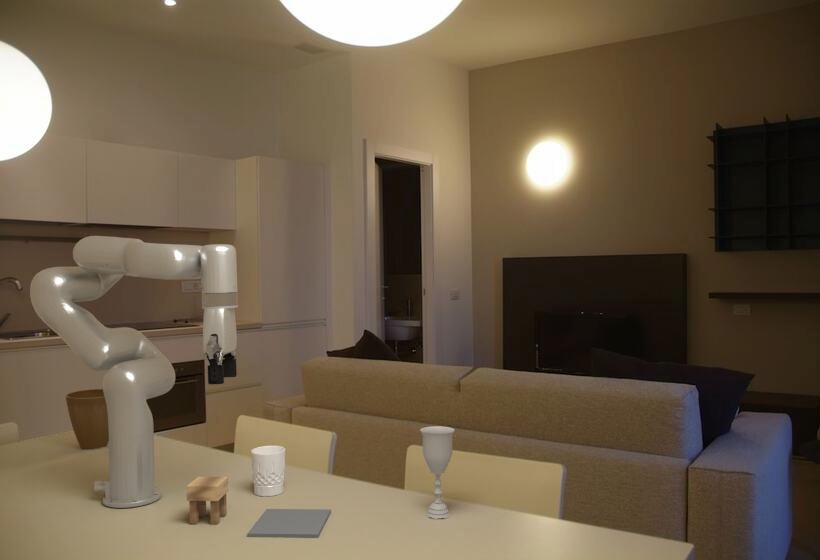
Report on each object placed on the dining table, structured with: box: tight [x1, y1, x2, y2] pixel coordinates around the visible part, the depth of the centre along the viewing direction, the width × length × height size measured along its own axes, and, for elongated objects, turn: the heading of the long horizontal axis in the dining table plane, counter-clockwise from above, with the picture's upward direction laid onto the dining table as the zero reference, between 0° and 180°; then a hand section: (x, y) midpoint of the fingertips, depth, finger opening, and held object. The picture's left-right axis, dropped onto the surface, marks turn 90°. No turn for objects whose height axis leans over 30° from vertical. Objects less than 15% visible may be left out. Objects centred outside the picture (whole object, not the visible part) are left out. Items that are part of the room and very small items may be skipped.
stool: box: [186, 476, 229, 526], centre depth 146 cm, size 6×6×8 cm
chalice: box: [420, 425, 455, 518], centre depth 147 cm, size 7×7×18 cm
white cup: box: [250, 445, 286, 497], centre depth 164 cm, size 8×8×10 cm
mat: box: [246, 508, 332, 538], centre depth 143 cm, size 14×14×1 cm
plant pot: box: [65, 388, 109, 450], centre depth 209 cm, size 15×15×16 cm
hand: (222, 380), depth 152 cm, fingers open, 9 cm apart
